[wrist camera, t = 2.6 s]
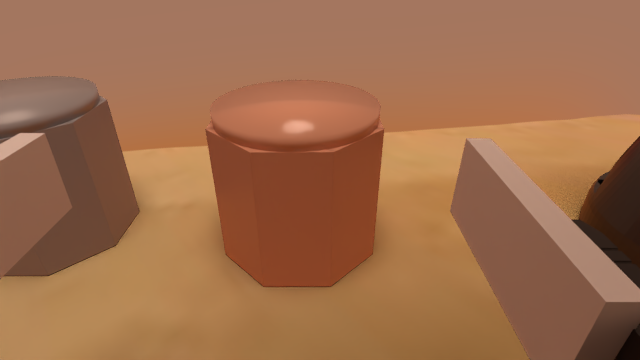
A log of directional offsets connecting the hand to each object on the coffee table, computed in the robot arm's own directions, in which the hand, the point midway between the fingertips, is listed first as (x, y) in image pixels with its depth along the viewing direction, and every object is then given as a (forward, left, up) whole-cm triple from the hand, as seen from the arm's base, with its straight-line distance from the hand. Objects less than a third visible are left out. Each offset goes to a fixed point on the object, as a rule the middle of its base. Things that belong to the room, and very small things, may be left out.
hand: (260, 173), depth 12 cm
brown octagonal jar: (+17, -12, -11) cm, 24 cm away
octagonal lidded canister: (-1, -11, -11) cm, 16 cm away
